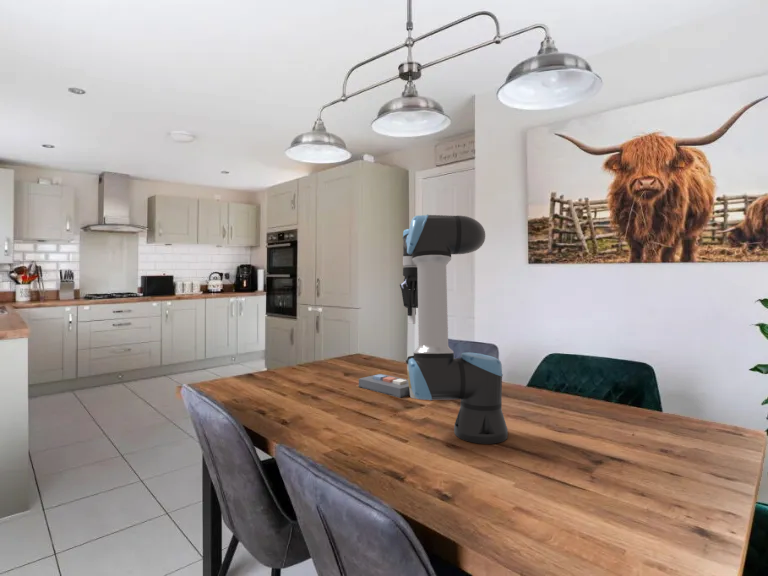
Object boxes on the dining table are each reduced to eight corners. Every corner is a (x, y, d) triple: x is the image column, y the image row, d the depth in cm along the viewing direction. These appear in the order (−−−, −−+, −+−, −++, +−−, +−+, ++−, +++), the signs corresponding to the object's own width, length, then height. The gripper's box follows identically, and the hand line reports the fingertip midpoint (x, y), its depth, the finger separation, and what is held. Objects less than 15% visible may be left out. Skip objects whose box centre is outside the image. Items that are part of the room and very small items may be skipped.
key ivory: (400, 388, 169) (400, 382, 169) (392, 386, 172) (392, 380, 172) (406, 386, 172) (406, 380, 172) (399, 384, 175) (399, 378, 175)
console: (400, 397, 163) (400, 388, 163) (358, 387, 179) (358, 378, 179) (421, 391, 172) (421, 382, 172) (380, 381, 188) (380, 373, 188)
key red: (389, 385, 173) (389, 379, 173) (382, 384, 176) (382, 378, 176) (396, 384, 176) (396, 378, 176) (389, 382, 179) (389, 376, 178)
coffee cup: (432, 400, 160) (432, 360, 160) (405, 400, 160) (406, 359, 160) (430, 393, 170) (430, 355, 169) (405, 393, 170) (405, 355, 170)
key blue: (380, 383, 177) (380, 377, 177) (373, 381, 179) (373, 375, 179) (386, 381, 180) (386, 375, 180) (379, 380, 182) (379, 374, 182)
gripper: (408, 266, 172) (408, 325, 172) (428, 267, 181) (428, 323, 182) (394, 266, 177) (394, 324, 177) (415, 267, 186) (414, 321, 187)
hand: (411, 323), depth 180 cm, fingers closed
